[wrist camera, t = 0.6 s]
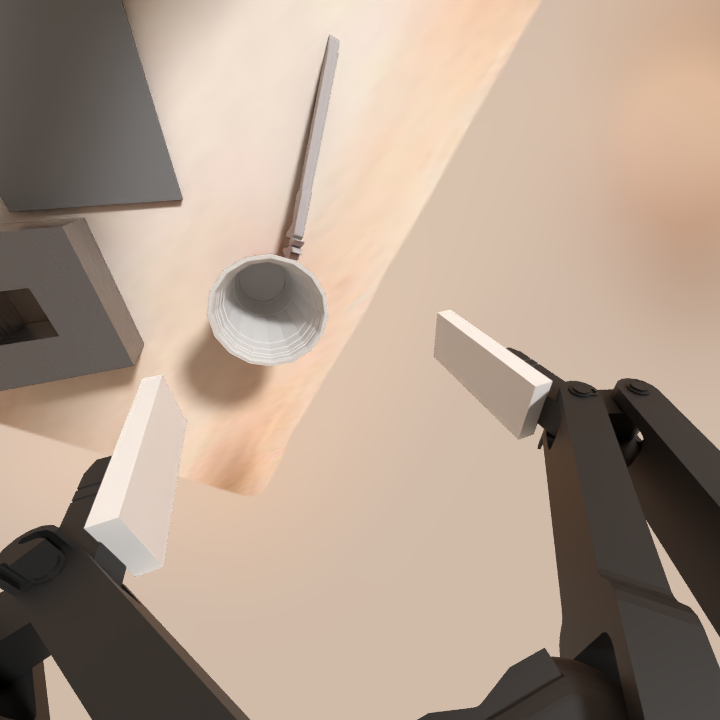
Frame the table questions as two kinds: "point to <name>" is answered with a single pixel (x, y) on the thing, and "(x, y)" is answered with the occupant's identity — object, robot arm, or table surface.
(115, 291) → the block
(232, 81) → the table surface
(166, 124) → the table surface
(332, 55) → the caliper
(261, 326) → the plastic cup
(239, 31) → the table surface
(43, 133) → the key mat
